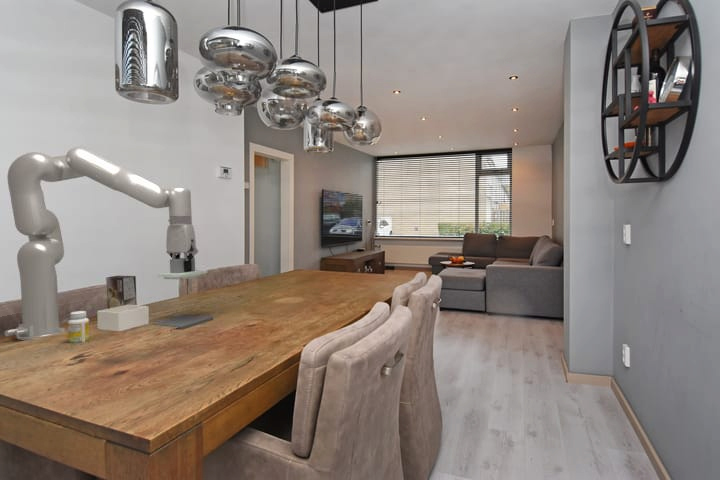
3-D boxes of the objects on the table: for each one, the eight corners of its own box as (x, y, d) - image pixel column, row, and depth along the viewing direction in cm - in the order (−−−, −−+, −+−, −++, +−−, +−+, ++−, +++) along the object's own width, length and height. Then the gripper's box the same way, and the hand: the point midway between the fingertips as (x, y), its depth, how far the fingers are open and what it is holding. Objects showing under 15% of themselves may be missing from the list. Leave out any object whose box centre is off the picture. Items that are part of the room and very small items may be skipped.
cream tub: (119, 333, 137) (118, 313, 137) (97, 331, 141) (97, 311, 140) (149, 325, 148) (148, 306, 148) (128, 323, 152) (128, 304, 152)
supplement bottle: (73, 346, 123) (72, 314, 122) (65, 344, 126) (64, 313, 125) (93, 342, 127) (92, 311, 127) (84, 339, 130) (83, 309, 130)
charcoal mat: (181, 329, 142) (181, 326, 142) (150, 326, 147) (150, 323, 147) (213, 319, 157) (213, 316, 157) (184, 316, 162) (184, 314, 162)
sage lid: (181, 280, 143) (180, 260, 143) (157, 279, 147) (156, 260, 147) (207, 275, 155) (206, 257, 155) (184, 274, 159) (184, 256, 159)
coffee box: (138, 315, 166) (136, 275, 165) (124, 318, 159) (123, 277, 159) (120, 314, 168) (119, 275, 168) (106, 317, 162) (105, 277, 162)
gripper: (155, 222, 150) (157, 272, 151) (191, 221, 144) (193, 272, 145) (171, 222, 157) (173, 269, 158) (206, 220, 151) (208, 270, 152)
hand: (182, 270), depth 151 cm, fingers closed on sage lid, 4 cm apart
